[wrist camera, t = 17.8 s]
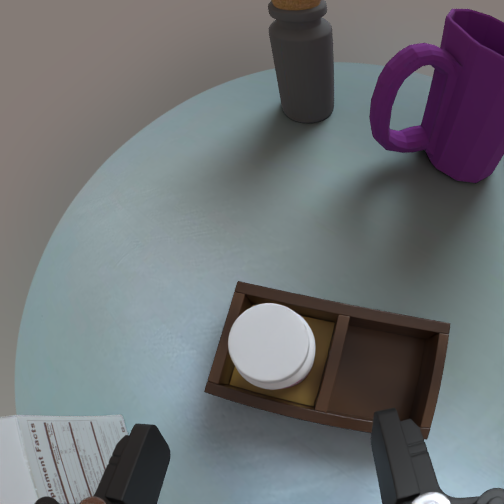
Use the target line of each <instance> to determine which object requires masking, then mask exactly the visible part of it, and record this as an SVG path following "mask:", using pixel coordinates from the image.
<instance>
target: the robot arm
mask: <svg viewBox="0 0 504 504" xmlns="http://www.w3.org/2000/svg"><path fill="white" fill-rule="evenodd" d="M371 445H372V451H373V456H374V461H375V466H376V471H377V477H378V482H379V487H380V493H381V499H382V504H504V489H501V488H493V489H490V490H487V491H486V492H484V493H483V494H482V495H481V496H479V497H467V498H454V497H450V496H448V495H446V494H445V493H444V492H443V491H442V490H441V489H440V487H439V485H438V482H437V479H436V475H435V472H434V469H433V466H432V463H431V459H430V456H429V453H428V452H427V447H426V444H425V442H424V438H423V436H422V433H421V430H420V428H419V427H418V426H417V425H416V424H415V423H414V422H413V421H412V420H411V419H407V420H403V421H400V419H399V416H398V413H397V410H396V408H391V409H386V410H381V411H376V412H374V417H373V426H372V433H371ZM169 461H170V449H169V446H168V444H167V443H166V441H165V440H164V438H163V436H162V435H161V433H160V431H159V430H158V428H157V427H156V426H155V425H149V424H135V425H134V427H133V429H132V431H131V433H130V436H129V435H125V436H124V437H123V438H122V439H121V440H120V441H119V442H118V443H117V444H116V446H115V449H114V451H113V453H112V456H111V458H110V460H109V464H108V465H107V467H106V469H105V471H104V474H103V476H102V478H101V481H100V483H99V485H98V488H97V490H96V492H95V494H94V495H93V496H92V497H87V498H85V499H83V500H82V501H81V502H80V503H79V504H157V501H158V498H159V495H160V491H161V488H162V484H163V481H164V478H165V474H166V471H167V468H168V465H169ZM35 504H60V503H59V502H58V501H56V500H55V499H54V498H52V497H49V496H45V497H41V498H40V499H38V500H37V501H36V502H35Z"/></svg>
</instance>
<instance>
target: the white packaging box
mask: <svg viewBox="0 0 504 504" xmlns="http://www.w3.org/2000/svg"><path fill="white" fill-rule="evenodd" d="M125 435H128V432H127V429H126V426H125V422H124V419H123V416H122V415H105V416H39V415H11V416H5V417H0V504H35V502H36V501H37V500H38V499H40V498H41V497H45V496H49V497H52V498H54V499H55V500H56V501H58V502H59V503H60V504H79V503H80V502H81V501H82V500H83V499H85V498H87V497H92V496H93V495H94V494H95V492H96V490H97V488H98V485H99V483H100V481H101V478H102V476H103V474H104V471H105V469H106V467H107V465H108V464H109V460H110V458H111V456H112V453H113V451H114V449H115V446H116V444H117V443H118V442H119V441H120V440H121V439H122V438H123V437H124V436H125Z"/></svg>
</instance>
